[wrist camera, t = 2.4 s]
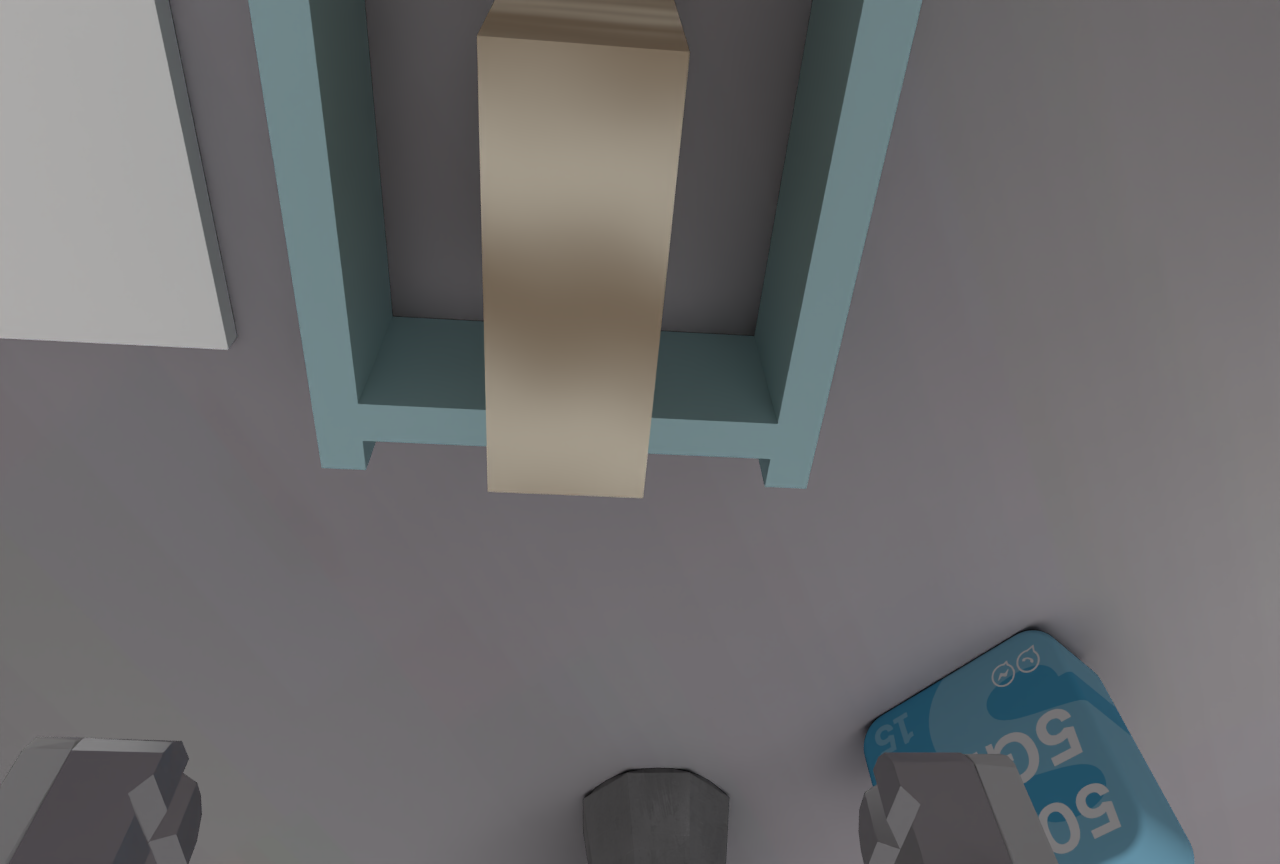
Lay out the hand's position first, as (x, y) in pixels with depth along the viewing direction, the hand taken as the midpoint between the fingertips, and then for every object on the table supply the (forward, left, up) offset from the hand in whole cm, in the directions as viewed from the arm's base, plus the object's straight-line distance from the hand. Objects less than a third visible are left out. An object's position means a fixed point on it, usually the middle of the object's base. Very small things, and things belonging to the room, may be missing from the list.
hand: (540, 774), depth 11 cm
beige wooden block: (0, 0, -25) cm, 25 cm away
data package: (+29, +22, -25) cm, 44 cm away
